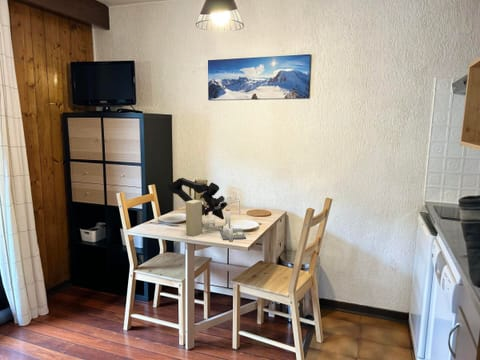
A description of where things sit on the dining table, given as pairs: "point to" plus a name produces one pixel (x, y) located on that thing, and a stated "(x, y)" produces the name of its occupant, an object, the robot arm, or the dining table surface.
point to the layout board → (235, 235)
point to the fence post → (227, 217)
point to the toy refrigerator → (194, 217)
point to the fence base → (228, 232)
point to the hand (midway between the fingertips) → (223, 219)
